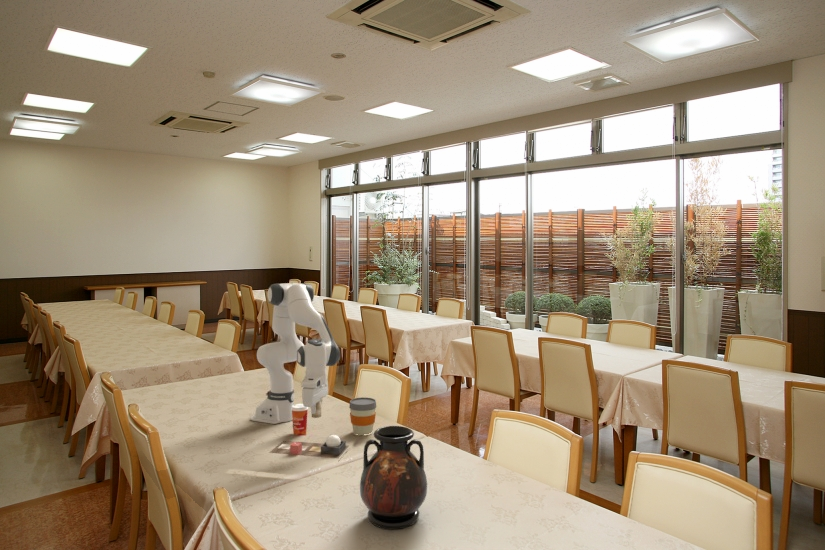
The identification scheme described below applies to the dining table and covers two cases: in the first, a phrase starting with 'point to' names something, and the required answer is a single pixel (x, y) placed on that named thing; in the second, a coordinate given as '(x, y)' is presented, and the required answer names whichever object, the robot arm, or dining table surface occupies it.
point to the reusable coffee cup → (362, 415)
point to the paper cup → (299, 419)
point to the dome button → (333, 441)
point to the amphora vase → (393, 479)
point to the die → (295, 448)
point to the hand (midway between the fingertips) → (316, 411)
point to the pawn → (318, 407)
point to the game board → (312, 449)
